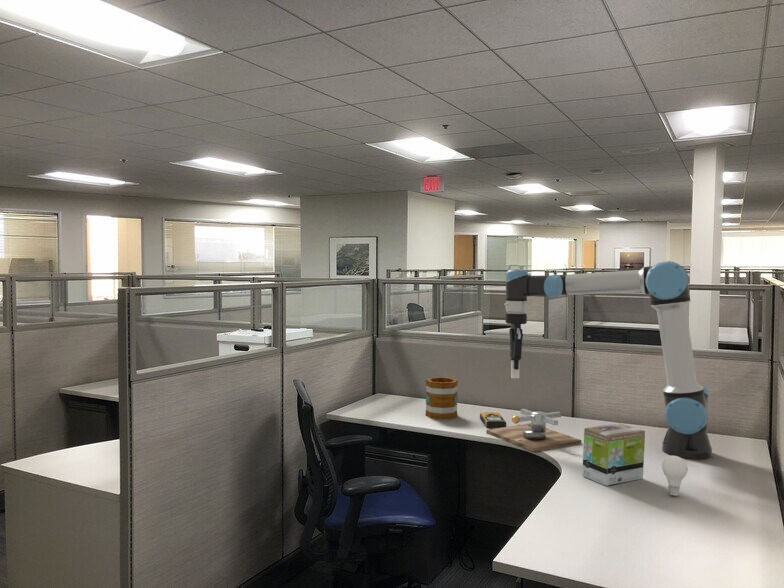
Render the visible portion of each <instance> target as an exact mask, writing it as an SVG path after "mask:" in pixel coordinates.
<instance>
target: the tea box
mask: <svg viewBox="0 0 784 588" xmlns="http://www.w3.org/2000/svg"><path fill="white" fill-rule="evenodd" d="M583 434H584V435H583V449H582V452H583V454H582V471H581V472H582V473H581V474H582V475H581V476H583V477H584V478H587V479H589V480H591V481H594V482H596V483H598V484H601V485H603V486H606V487H608V486H610V485H615V484H621V483H626V482H632V481H639V480H642V479H643V478H644V463H645V441H646V440H645V439H646V431H645V430H642V429H639V428H636V427H633V426H630V425H626V424H624V423H619V422H618V423H612V424H607V425H606V424H605V425H604V424H603V425H597V426H591V427H584V430H583Z"/></svg>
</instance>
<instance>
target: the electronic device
mask: <svg viewBox="0 0 784 588" xmlns="http://www.w3.org/2000/svg"><path fill="white" fill-rule="evenodd" d="M479 419H480V421H481V423H482V424H483V426H484V427H486V429H496V428H503V427H507V422H506V420H505V419H504V418H503V416H502V415H501V414H500V413H499V412H493V411H491V412H488V411H487V412H486V411H485V412H480V413H479Z"/></svg>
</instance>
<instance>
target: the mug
mask: <svg viewBox="0 0 784 588" xmlns="http://www.w3.org/2000/svg"><path fill="white" fill-rule="evenodd" d="M458 383H459V380H458V379H456V378H453V377H445V376H444V377H442V376H439V377H429V378H427V379H425V385H426V387H425V388H426V390H425V416H426V417H427V418H429V419H432V420H433V419H434V420H440V421H442V420H444V421H445V420H452V419H453V420H454V419H455V418H456V417H458V400H459V399H458V398H459V397H458Z"/></svg>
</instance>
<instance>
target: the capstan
mask: <svg viewBox="0 0 784 588" xmlns="http://www.w3.org/2000/svg"><path fill="white" fill-rule="evenodd" d="M520 414H521V415H517V414H516V415H512V417H511V421H512V423H513V424H516V425H517V424H519V423H523V422H524V423H525V422H529V421H531V422H530V423H531V428H527V429H524V430H523V437H524V438H527V439H533V440H542V439H545V438H546V428H547V427H546V424H548V425H549V424H550V425H552V426H558V425H559V420H557V419H556V418H561V417H562V412H560V411H554V412H544V411H539V410H538V411H537V410H536V411H532V410H530V409H526V408H520Z"/></svg>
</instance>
